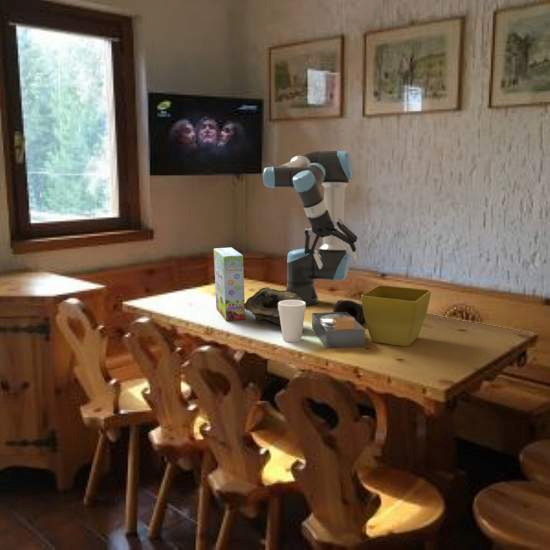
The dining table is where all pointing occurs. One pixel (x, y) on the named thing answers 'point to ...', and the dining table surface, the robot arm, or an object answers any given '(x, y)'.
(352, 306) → the pipe
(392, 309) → the flower pot
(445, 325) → the dining table surface
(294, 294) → the moss-covered rock
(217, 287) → the snack box
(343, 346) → the block
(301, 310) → the foam cup
